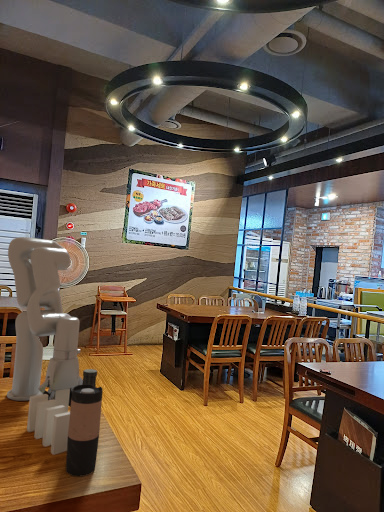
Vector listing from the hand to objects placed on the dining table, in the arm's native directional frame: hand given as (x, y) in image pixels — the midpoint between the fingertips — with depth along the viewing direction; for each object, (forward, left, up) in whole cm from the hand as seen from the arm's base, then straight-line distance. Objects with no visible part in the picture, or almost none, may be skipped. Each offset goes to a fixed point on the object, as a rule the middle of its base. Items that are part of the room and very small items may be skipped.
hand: (60, 407), depth 126 cm
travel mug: (+33, -10, -3) cm, 35 cm away
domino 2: (+11, -10, -3) cm, 15 cm away
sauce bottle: (+19, -2, -3) cm, 19 cm away
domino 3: (0, 0, -3) cm, 3 cm away
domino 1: (+5, -10, -3) cm, 12 cm away
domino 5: (+22, -10, -3) cm, 24 cm away
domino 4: (+16, -10, -3) cm, 19 cm away
